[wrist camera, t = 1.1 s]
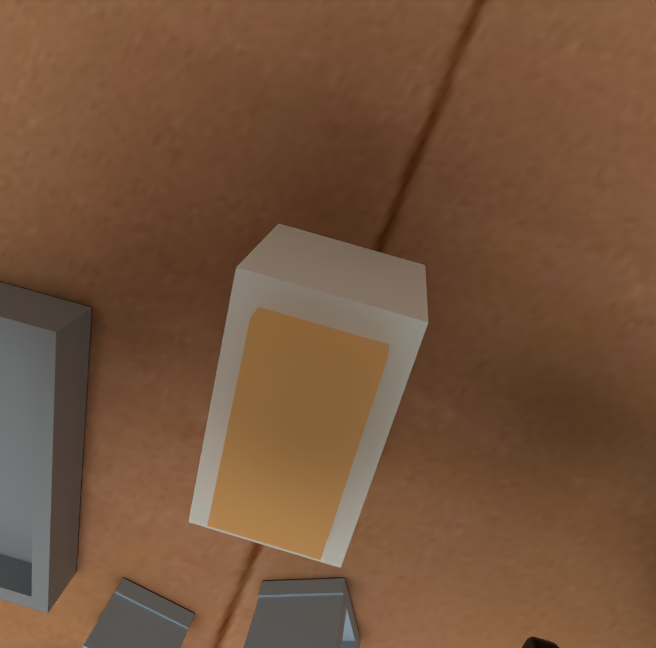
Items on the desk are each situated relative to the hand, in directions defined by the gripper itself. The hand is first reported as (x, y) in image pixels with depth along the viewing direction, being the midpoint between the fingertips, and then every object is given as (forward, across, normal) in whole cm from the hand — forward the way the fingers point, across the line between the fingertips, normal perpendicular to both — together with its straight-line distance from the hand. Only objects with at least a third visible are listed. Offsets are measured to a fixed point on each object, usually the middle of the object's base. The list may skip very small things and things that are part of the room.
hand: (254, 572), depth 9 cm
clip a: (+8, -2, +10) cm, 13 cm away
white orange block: (+8, 0, 0) cm, 8 cm away
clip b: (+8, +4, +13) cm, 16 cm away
